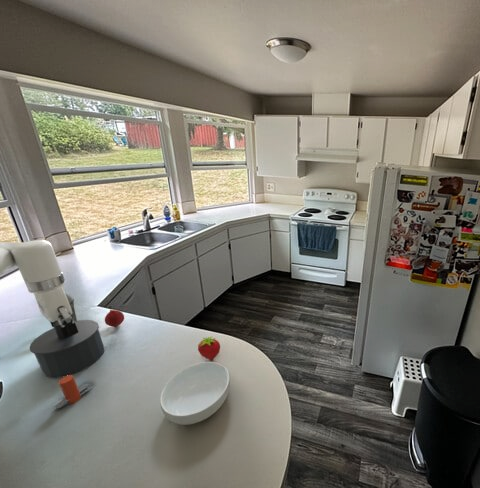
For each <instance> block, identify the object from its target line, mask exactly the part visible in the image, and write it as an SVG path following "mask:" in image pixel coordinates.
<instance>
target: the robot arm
mask: <svg viewBox="0 0 480 488" xmlns="http://www.w3.org/2000/svg"><path fill="white" fill-rule="evenodd" d="M56 255H57V254H56V253H55V250H54V247H53V245H52V243H51V242H49V241H48V240H44V239H36V240H35V239H34V240H28V241H22V242H21V241H20V242H17V241H16V242H14V241H0V276H2V275H4V273H6V272H7V271H9V270H12V269H15V268H16V267H17V268H18V270H19V272H20V275H21V277H22V279H23V281H24V284H25V286H26V288H27V291H28V292H29V294H30V293H31V294H33V295H34V298H35V301H36V304H37V306H38V309H39V312H40V314H41V315H42V316H43V317H44V318H45V319H46V320H47V321H48V322H49V323H50V325H51V327H52V328H54V326H53V323H55V322H56V321H58V322H59V324H60V325H61V327H60V329H61V331H62V334H63V336H64V338H68V337H70V336H72V335H75V334H77V333H78V329H77V327H76V324H75V322H74V320H73V319H72V317H71V315H72V309H71V306H70V304H69V301H68V299H67V296H66V294H65V293H66V291H65V290H64V287H63V286H65V285H66V279H65V277H64V274H63V272H62V269H61V266H60V264H59V263H60V262H59V261H58V258H57V256H56ZM62 319H64V321H63V322H62V321H61V320H62Z"/></svg>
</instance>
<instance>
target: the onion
mask: <svg viewBox="0 0 480 488" xmlns="http://www.w3.org/2000/svg"><path fill="white" fill-rule="evenodd" d="M124 321H125V315H124V313H123V312H122V311H120V310H116V309H112V308H111V309H109V312H108V313H106V315H105V317H104V323H105V325H107V326H108V327H112V328H117V327H119V326H120V325H122V324H123V322H124Z"/></svg>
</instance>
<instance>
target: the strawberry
mask: <svg viewBox="0 0 480 488" xmlns="http://www.w3.org/2000/svg"><path fill="white" fill-rule="evenodd" d="M220 350H221V344H220V341H219V340H217V338H215V337H214V338H213V336H212V335H211V336H210V337H209V336H208V337H206V336H205V337H202V340H200V342H198V345H197V351H198V353H199V354H200V356H202V357H203V358H205V359H207V360H209V361H213V360H214V359H215V358H216V357H217V356H218V354H219V353H220V352H221V351H220Z"/></svg>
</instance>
